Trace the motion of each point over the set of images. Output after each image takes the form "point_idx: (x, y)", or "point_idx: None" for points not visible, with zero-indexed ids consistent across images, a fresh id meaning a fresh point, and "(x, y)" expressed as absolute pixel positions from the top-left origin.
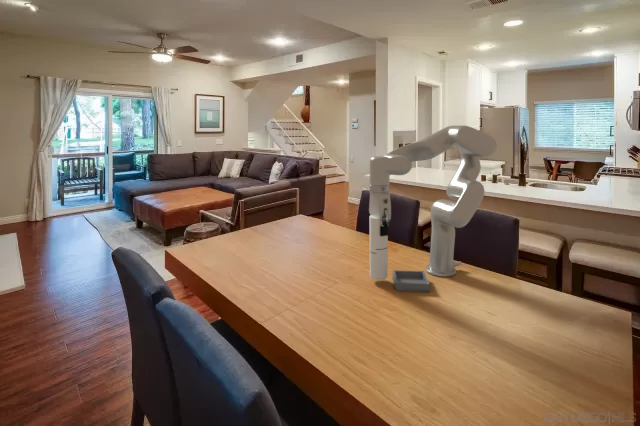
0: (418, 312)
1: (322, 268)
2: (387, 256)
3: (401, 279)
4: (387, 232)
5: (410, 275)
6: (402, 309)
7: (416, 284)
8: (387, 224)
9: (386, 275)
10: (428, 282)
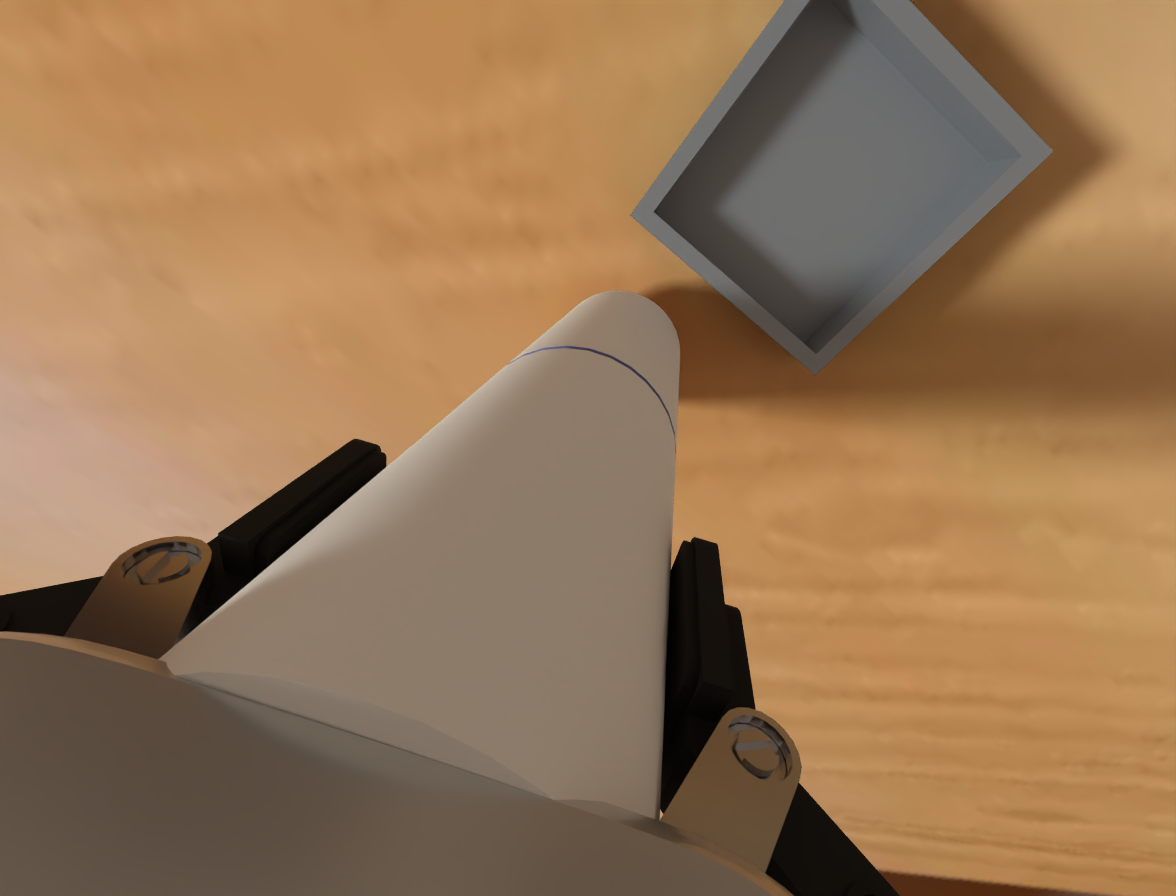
0: (1073, 453)
1: None
2: (657, 353)
3: (725, 206)
4: (717, 579)
5: (744, 91)
6: (972, 492)
7: (941, 252)
8: (818, 829)
9: (677, 339)
10: (1026, 138)
